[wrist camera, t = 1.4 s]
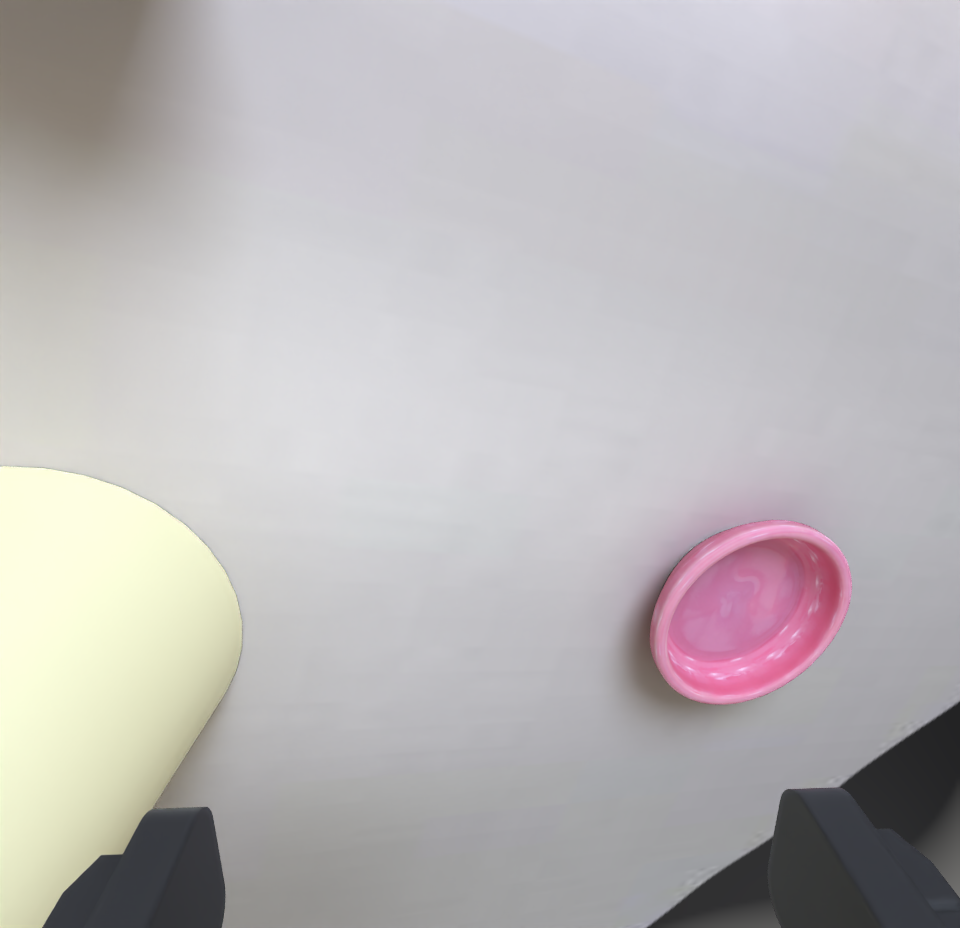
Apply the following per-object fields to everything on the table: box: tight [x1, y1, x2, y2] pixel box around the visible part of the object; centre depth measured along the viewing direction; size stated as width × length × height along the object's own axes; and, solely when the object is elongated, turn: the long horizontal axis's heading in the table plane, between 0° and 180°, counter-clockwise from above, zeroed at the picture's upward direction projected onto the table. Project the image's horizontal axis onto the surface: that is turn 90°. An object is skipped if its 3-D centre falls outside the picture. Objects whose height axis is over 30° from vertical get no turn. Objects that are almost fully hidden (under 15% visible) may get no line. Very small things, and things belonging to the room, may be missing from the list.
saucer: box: [650, 520, 852, 705], centre depth 39 cm, size 12×12×3 cm
